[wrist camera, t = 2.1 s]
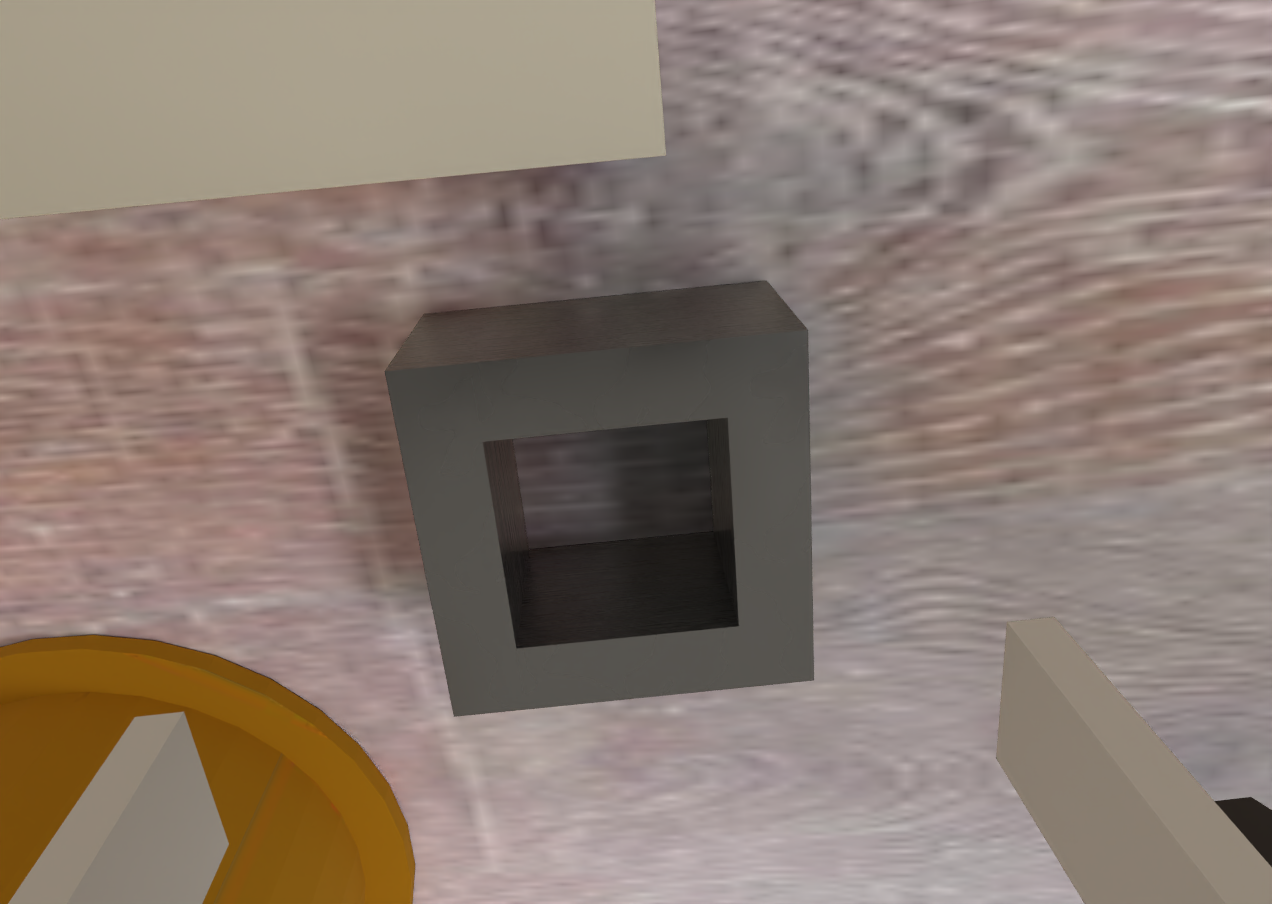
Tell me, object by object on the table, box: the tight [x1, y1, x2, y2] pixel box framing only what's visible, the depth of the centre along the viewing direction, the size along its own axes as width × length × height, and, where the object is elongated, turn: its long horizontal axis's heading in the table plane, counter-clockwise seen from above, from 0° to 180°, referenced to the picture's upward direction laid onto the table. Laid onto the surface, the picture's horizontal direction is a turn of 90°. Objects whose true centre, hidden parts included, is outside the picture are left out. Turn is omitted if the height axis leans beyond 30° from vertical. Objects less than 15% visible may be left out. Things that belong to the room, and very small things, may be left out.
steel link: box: [385, 281, 814, 717], centre depth 24 cm, size 9×9×5 cm
